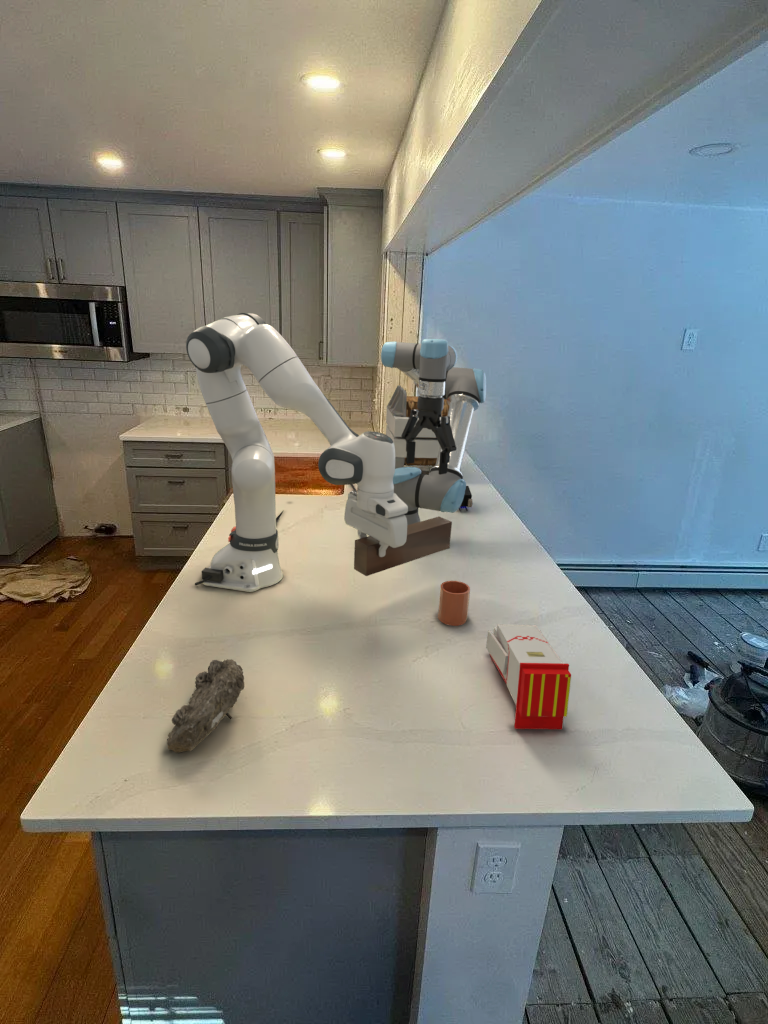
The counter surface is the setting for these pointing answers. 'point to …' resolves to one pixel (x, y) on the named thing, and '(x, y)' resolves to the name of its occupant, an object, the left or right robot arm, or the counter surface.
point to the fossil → (206, 705)
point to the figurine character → (466, 499)
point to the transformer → (426, 438)
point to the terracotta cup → (453, 603)
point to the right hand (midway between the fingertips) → (426, 468)
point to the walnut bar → (403, 546)
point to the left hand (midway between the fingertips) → (372, 551)
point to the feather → (278, 517)
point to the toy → (531, 675)
